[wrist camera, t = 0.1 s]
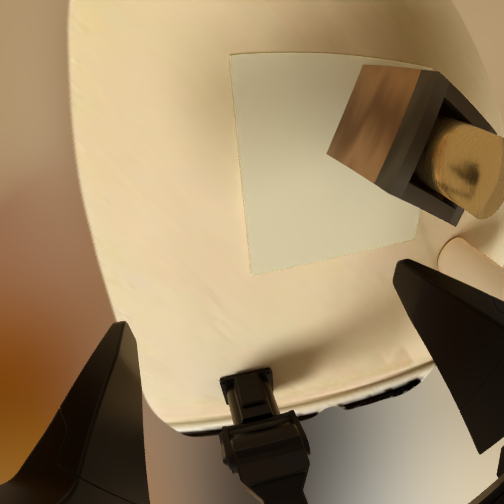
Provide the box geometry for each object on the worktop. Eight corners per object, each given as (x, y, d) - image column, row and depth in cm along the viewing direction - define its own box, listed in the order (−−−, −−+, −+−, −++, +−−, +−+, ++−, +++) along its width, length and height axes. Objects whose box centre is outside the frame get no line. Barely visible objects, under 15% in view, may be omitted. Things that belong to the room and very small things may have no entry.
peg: (420, 181, 21) (490, 227, 14) (377, 158, 19) (456, 204, 13) (444, 126, 18) (520, 159, 12) (404, 95, 16) (491, 120, 10)
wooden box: (392, 183, 25) (455, 226, 18) (323, 152, 22) (388, 193, 16) (424, 108, 22) (496, 133, 15) (360, 64, 19) (439, 71, 12)
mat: (412, 237, 30) (414, 239, 29) (250, 273, 27) (251, 276, 27) (430, 67, 20) (433, 68, 19) (229, 55, 17) (229, 55, 17)
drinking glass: (471, 242, 34) (544, 309, 21) (443, 280, 36) (510, 354, 24) (455, 221, 30) (542, 297, 18) (423, 265, 33) (502, 350, 21)
